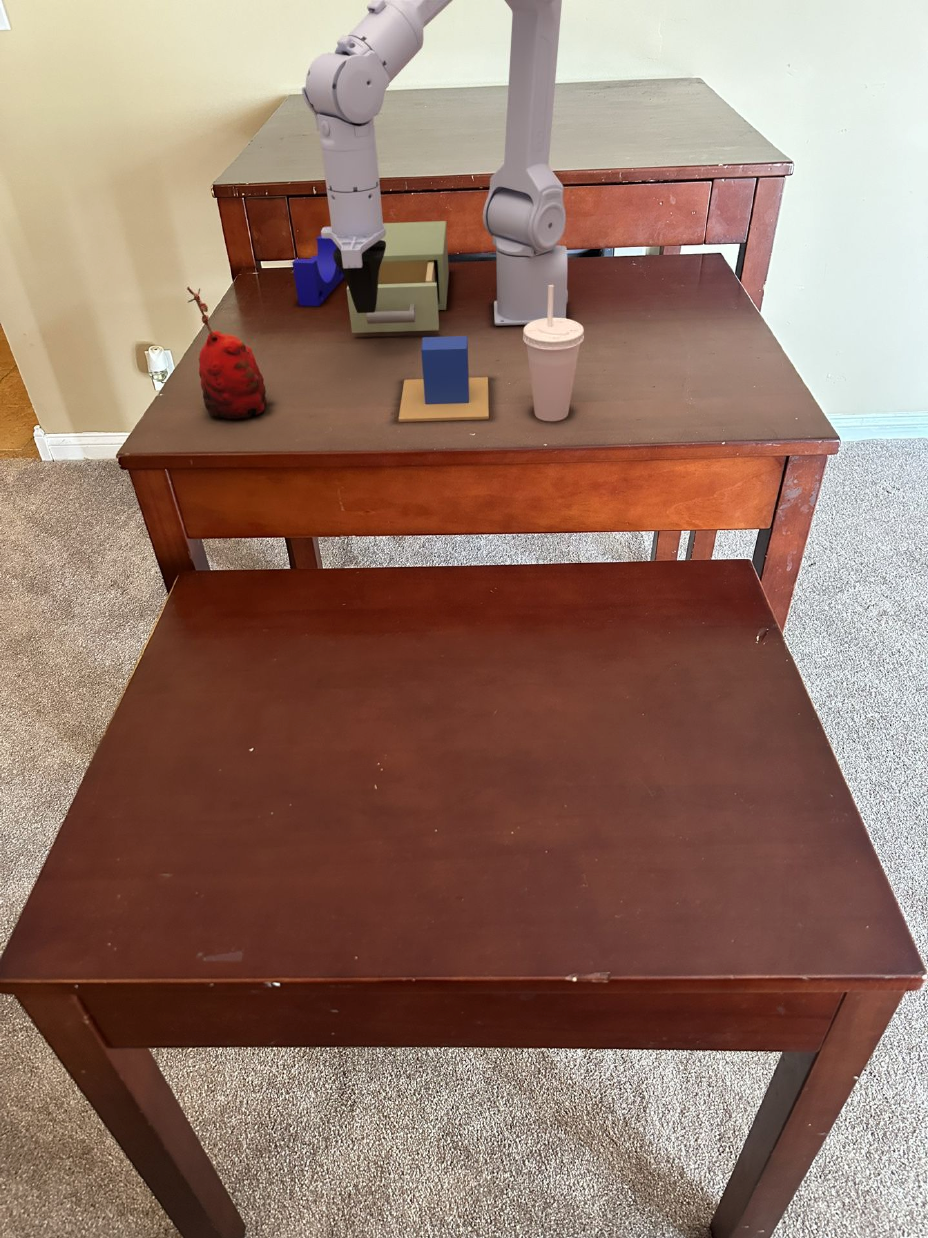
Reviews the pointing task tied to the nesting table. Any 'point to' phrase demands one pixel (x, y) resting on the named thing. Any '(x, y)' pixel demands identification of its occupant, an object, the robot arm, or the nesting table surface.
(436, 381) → the blue rectangular block
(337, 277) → the cable clip
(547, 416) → the smoothie
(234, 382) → the red clay folk toy
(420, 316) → the drawer
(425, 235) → the cabinet
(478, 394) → the mat
